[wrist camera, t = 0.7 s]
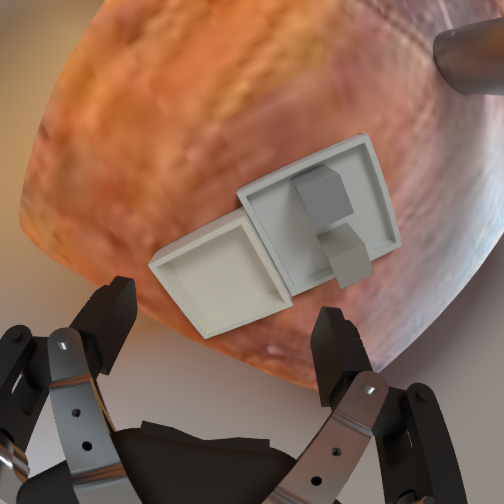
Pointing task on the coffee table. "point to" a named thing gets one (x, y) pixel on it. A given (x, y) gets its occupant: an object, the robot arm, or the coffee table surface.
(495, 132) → the coffee table surface
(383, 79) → the coffee table surface
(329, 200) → the blue-grey block
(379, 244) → the parts tray
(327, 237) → the light grey block
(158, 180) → the coffee table surface
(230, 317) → the open box
